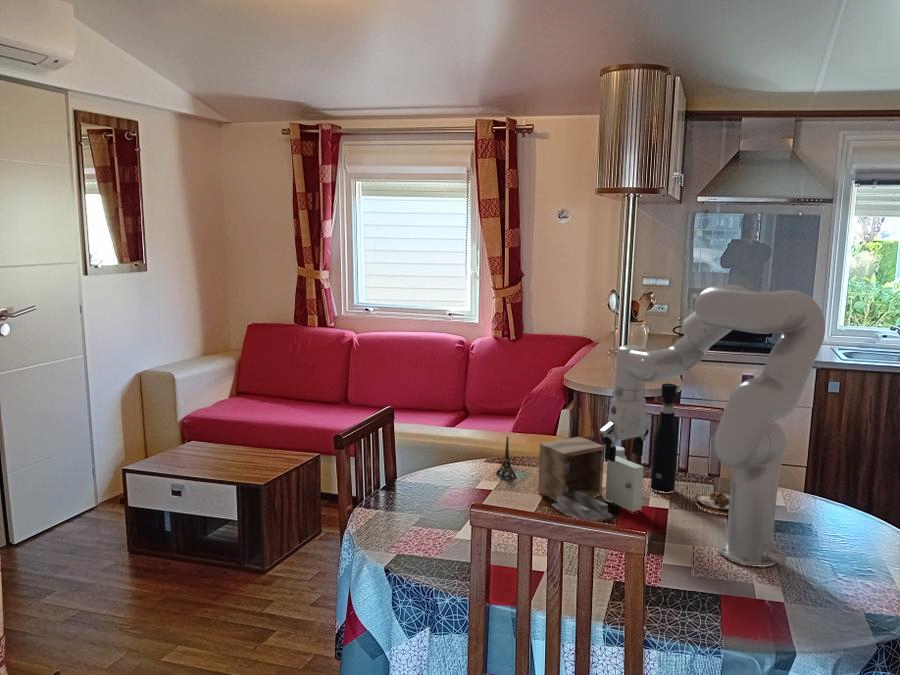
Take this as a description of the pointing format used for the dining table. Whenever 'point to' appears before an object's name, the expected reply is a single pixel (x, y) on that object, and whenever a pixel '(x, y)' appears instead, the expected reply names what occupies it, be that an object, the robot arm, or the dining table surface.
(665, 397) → the black water bottle
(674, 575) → the dining table surface
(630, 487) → the door panel
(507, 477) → the eiffel tower figurine
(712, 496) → the plate of food
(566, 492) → the cabinet
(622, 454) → the supplement bottle
